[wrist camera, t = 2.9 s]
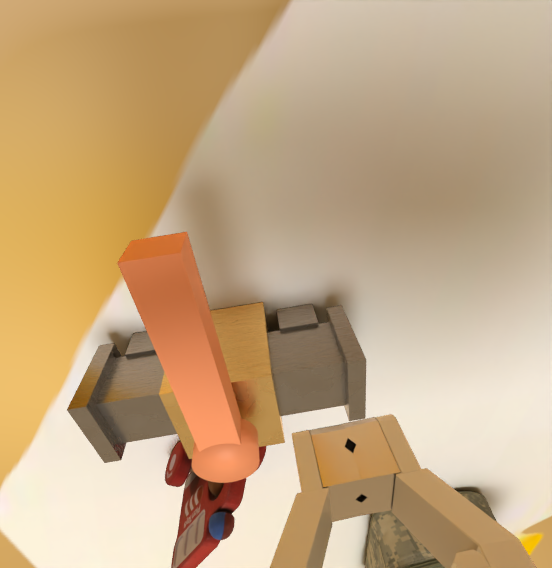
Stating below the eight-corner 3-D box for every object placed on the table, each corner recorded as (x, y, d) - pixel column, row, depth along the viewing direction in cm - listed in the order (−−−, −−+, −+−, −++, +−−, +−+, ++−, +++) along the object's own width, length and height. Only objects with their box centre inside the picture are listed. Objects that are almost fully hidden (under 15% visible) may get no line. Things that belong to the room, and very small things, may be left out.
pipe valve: (336, 289, 28) (373, 368, 21) (339, 352, 32) (371, 438, 24) (102, 328, 28) (53, 422, 20) (133, 387, 31) (101, 484, 24)
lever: (262, 446, 23) (264, 476, 21) (203, 456, 23) (201, 487, 21) (205, 228, 15) (201, 249, 13) (112, 243, 15) (96, 266, 13)
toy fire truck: (275, 412, 35) (288, 525, 27) (217, 474, 40) (212, 587, 32) (215, 391, 33) (208, 508, 24) (161, 460, 38) (139, 578, 29)
